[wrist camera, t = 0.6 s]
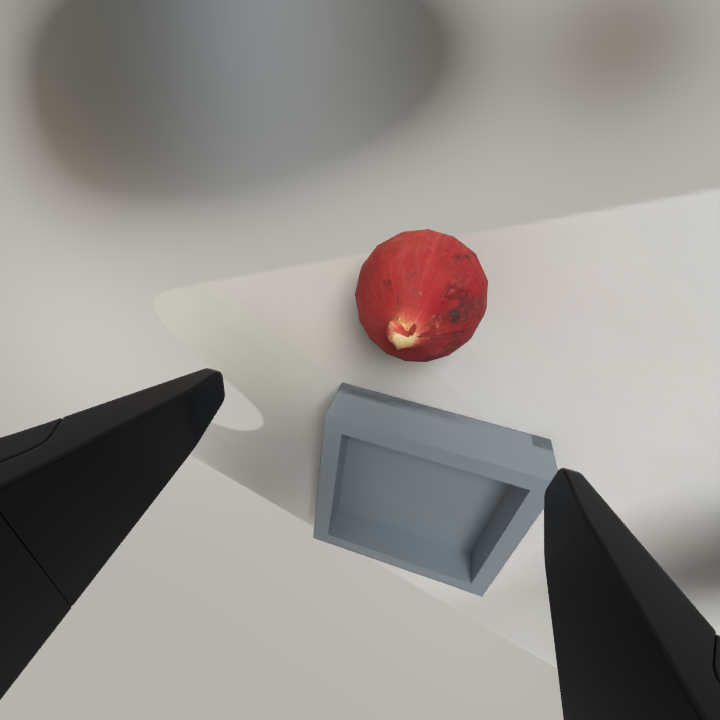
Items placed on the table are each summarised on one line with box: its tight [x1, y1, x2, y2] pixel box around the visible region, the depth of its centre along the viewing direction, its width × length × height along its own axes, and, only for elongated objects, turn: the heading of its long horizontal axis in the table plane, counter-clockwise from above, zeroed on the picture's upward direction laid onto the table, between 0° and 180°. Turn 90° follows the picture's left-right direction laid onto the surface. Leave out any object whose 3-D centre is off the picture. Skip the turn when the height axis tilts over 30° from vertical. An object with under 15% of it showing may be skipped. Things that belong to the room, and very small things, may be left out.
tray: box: [314, 383, 558, 596], centre depth 26 cm, size 14×14×4 cm
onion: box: [355, 229, 488, 362], centre depth 16 cm, size 6×6×8 cm
